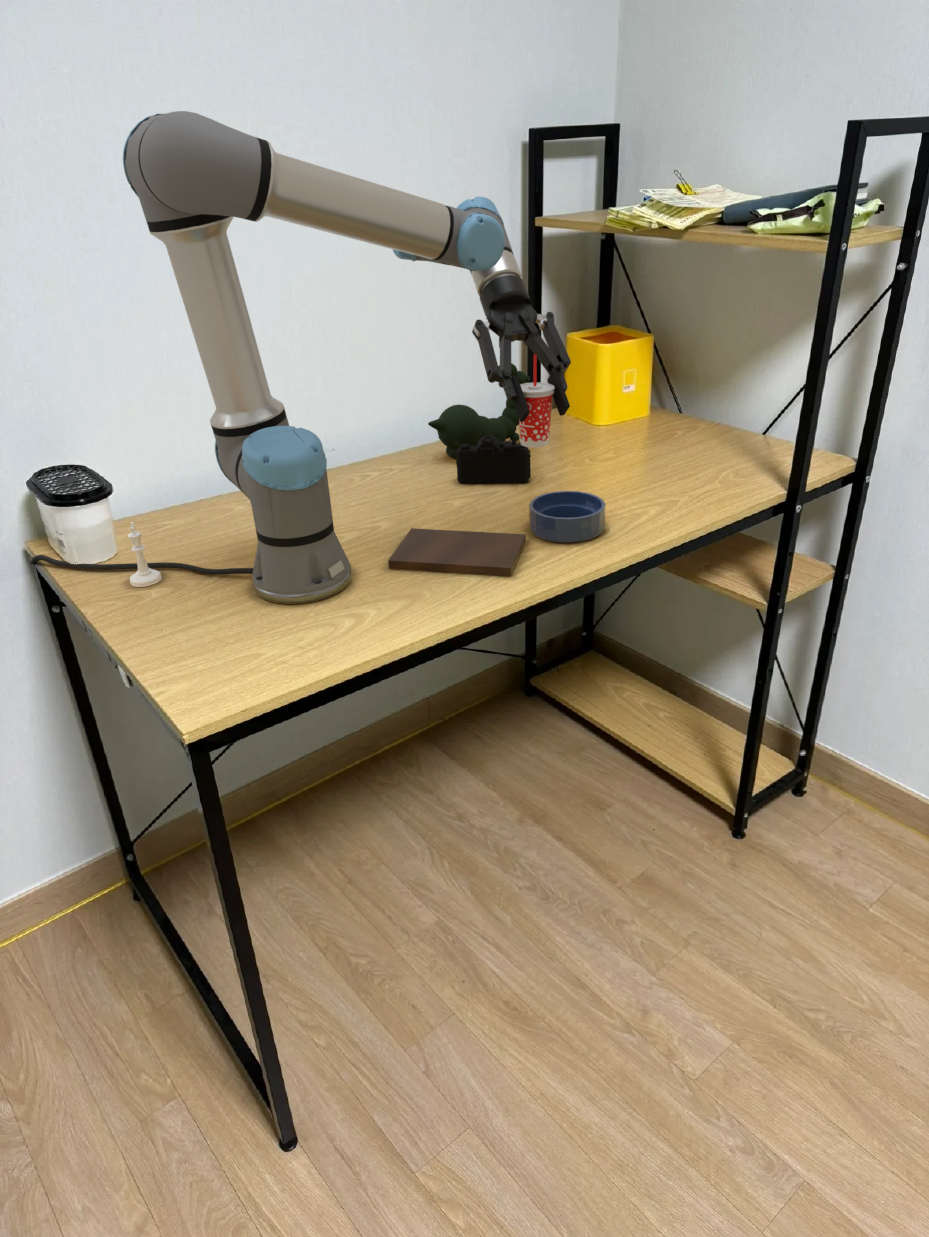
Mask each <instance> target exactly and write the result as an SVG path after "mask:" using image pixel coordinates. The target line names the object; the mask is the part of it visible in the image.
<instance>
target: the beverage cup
mask: <svg viewBox="0 0 929 1237" xmlns="http://www.w3.org/2000/svg"><path fill="white" fill-rule="evenodd" d="M537 364H538V358H537V354H534V353H533V382H526V383H525V384H520V386H521V388H522V391H523V394H524V397H525V400H526V403H527V406H528V409H529V414H528V416H527V418H526V419H525V421H523V422H520V420H519V425H518V426H519V440H520V443H521V445H522V446H525V447H528V448H530V449H531V448H533V449H534V448H535V449H536V448H544V447H547V446H548V445H549V444H550V441H551V440H550V439H551V426H552V412H553V410H552V409H553V399H554V398H553V394H554V389H555V387H554V386H553V385H551V384H548V382H537V381H538V378H537V376H538V375H537V373H538V372H537V370H538V368H537Z"/></svg>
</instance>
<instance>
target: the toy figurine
mask: <svg viewBox="0 0 929 1237" xmlns="http://www.w3.org/2000/svg"><path fill="white" fill-rule="evenodd" d="M498 367H499V370H500V364H498ZM515 375H517V377H518V380H519V383H520V384H525V383H530V382H531V378H530V376H529V375H527V374H526V373H525V372H524V371H522V370H518V368H517V366H516V364H514V363H512V362H511V378H512V376H515ZM427 425H428V426H429V427H431V428H432V429H434V430H436V431H437V435H438V440H440V442H441V443H442V444H443V445H444V446H445V447H446V448H445V454H446V456H448V458H451V459H453V460H456V453H454V450H457V449H458V448H460V445H461V444H469V445H470V446H476V445H477V443H478V441H479V439H480V438H482V437H483V436H485V435H493V436H495V437H497V438H498V439H499V440H500V441H501V442H503V441H507V440H509V441H511V442H512V441H513V440H516V442H518V441H519V440H520V433H519V432H516V431H517V426H519V417H518V415H517V412H516V409H515V406H514V403H513V401H508V399H507V398H506V400H505V407H504V409H503V410H502V413H501V415H499V416H498V417H490V418H489V417H487V416H484V415H479V413H477V411H476V410H475V408H474V409H473V408H472V407H471V406H469V405H466V404H452V405H451V406H449V407H447V408H446V409H444V410H443V411H442V413H441V414H440V415H439V417H438V418H437V419H434V420H431V421H429V422H428V423H427Z"/></svg>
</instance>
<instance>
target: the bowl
mask: <svg viewBox="0 0 929 1237" xmlns="http://www.w3.org/2000/svg"><path fill="white" fill-rule="evenodd" d="M606 506H607V504H606V502H605V501H604V499H603V498H601V497H600V496H598V495H596V494H593V493H589V492H586V491H579V490H557V491H551V492H546V493H543V494H540V495H537V496H535V497H533V499H531V500H530V502H529V504H528V528H529V531H530V533H531V534H532V535H534V536H535V537H537V538H539V539H542V540H545V541H549V542H554V543H578V542H584V541H589V540H592V539H594V538H597V537H599V536H600V535H602V534H603V533H604V531H605V528H606V508H607V507H606Z"/></svg>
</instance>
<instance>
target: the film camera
mask: <svg viewBox="0 0 929 1237" xmlns="http://www.w3.org/2000/svg"><path fill="white" fill-rule="evenodd" d="M454 453H456V459H455V462H456V464H455V465H456V479H457V483H458V484H460V485H513V484H515V485H516V484H526V483H528V482H529V481H530V479H531V478H532V477H531V475H532V473H531V469H532V468H531V450H530V448H529V447H525V446H522V445H521V442H518V443H517V441H516V440H513V441H511V440H505V441H503V442H501V441H500V440H499V439H498V438H497V437H495V436H493V435H485V436H483V437H482V438H480V439H479V441H478V443H477V445H476V446H470V445H469V444H461V445H460V448H458V449H457V450H454Z"/></svg>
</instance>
